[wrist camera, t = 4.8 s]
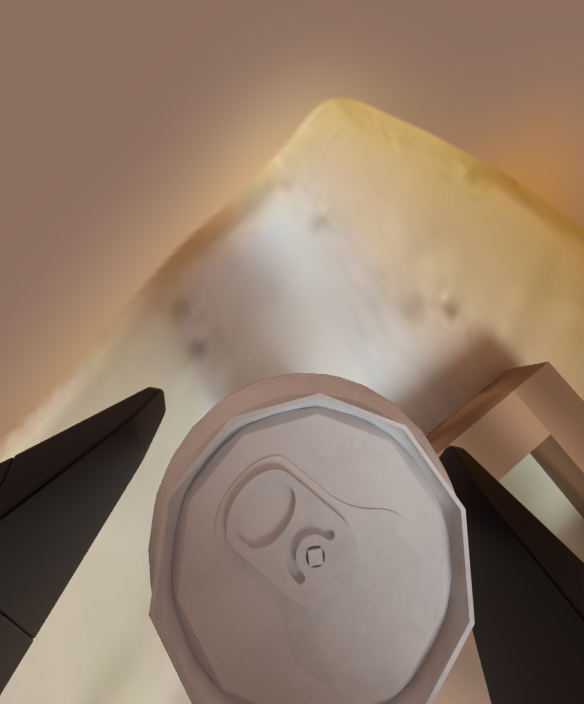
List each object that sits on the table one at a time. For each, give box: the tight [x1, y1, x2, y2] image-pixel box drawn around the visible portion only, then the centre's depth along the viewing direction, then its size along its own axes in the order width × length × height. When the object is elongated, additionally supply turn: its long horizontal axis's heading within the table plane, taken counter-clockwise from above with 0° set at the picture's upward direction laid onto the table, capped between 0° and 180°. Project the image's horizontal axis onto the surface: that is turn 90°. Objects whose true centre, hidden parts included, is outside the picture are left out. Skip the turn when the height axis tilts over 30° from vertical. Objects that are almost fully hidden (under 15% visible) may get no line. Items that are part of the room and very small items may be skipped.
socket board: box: [426, 362, 584, 704], centre depth 13 cm, size 15×12×2 cm
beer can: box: [149, 373, 475, 704], centre depth 9 cm, size 5×5×12 cm
